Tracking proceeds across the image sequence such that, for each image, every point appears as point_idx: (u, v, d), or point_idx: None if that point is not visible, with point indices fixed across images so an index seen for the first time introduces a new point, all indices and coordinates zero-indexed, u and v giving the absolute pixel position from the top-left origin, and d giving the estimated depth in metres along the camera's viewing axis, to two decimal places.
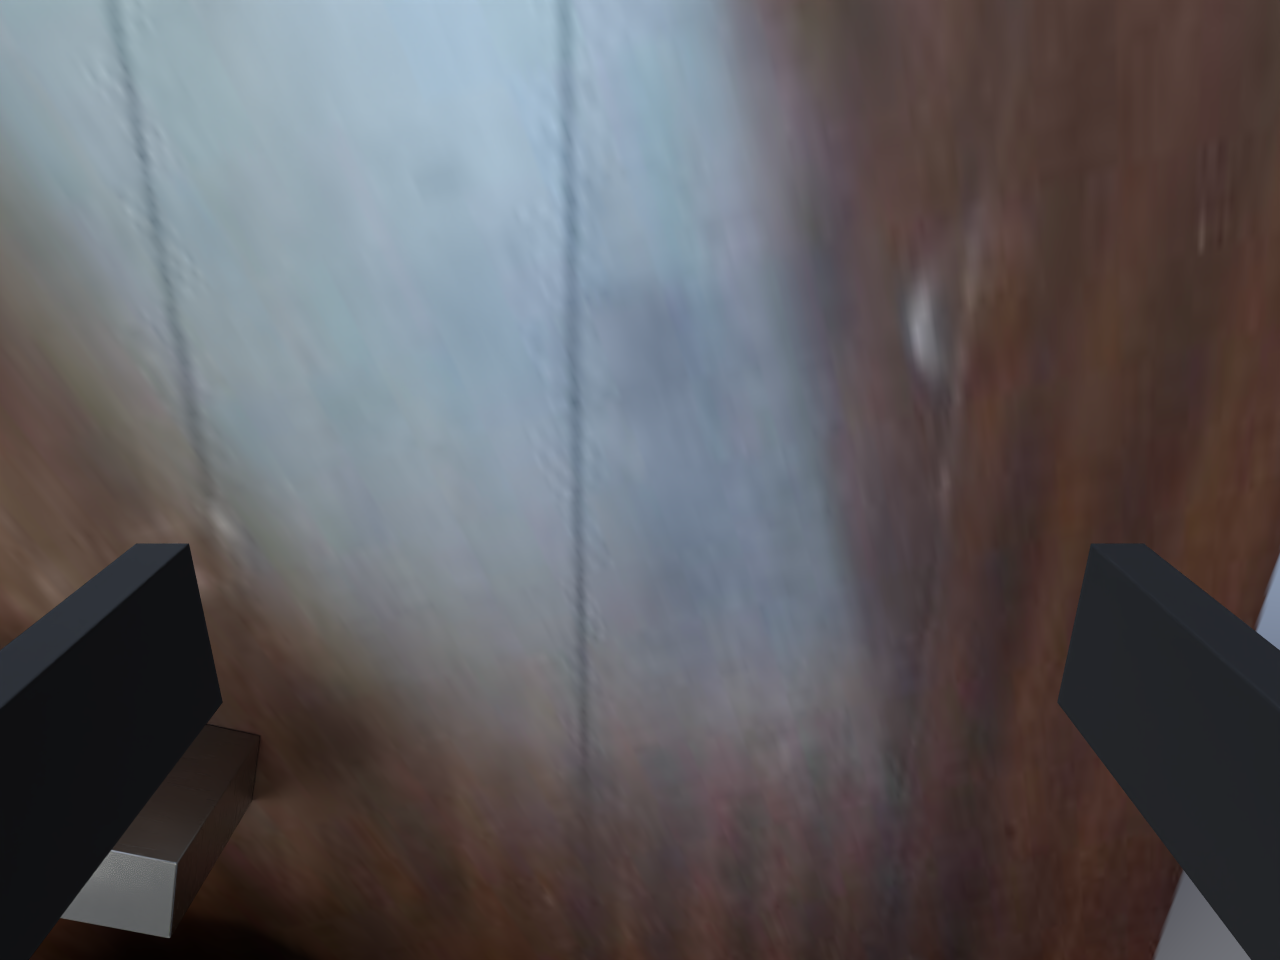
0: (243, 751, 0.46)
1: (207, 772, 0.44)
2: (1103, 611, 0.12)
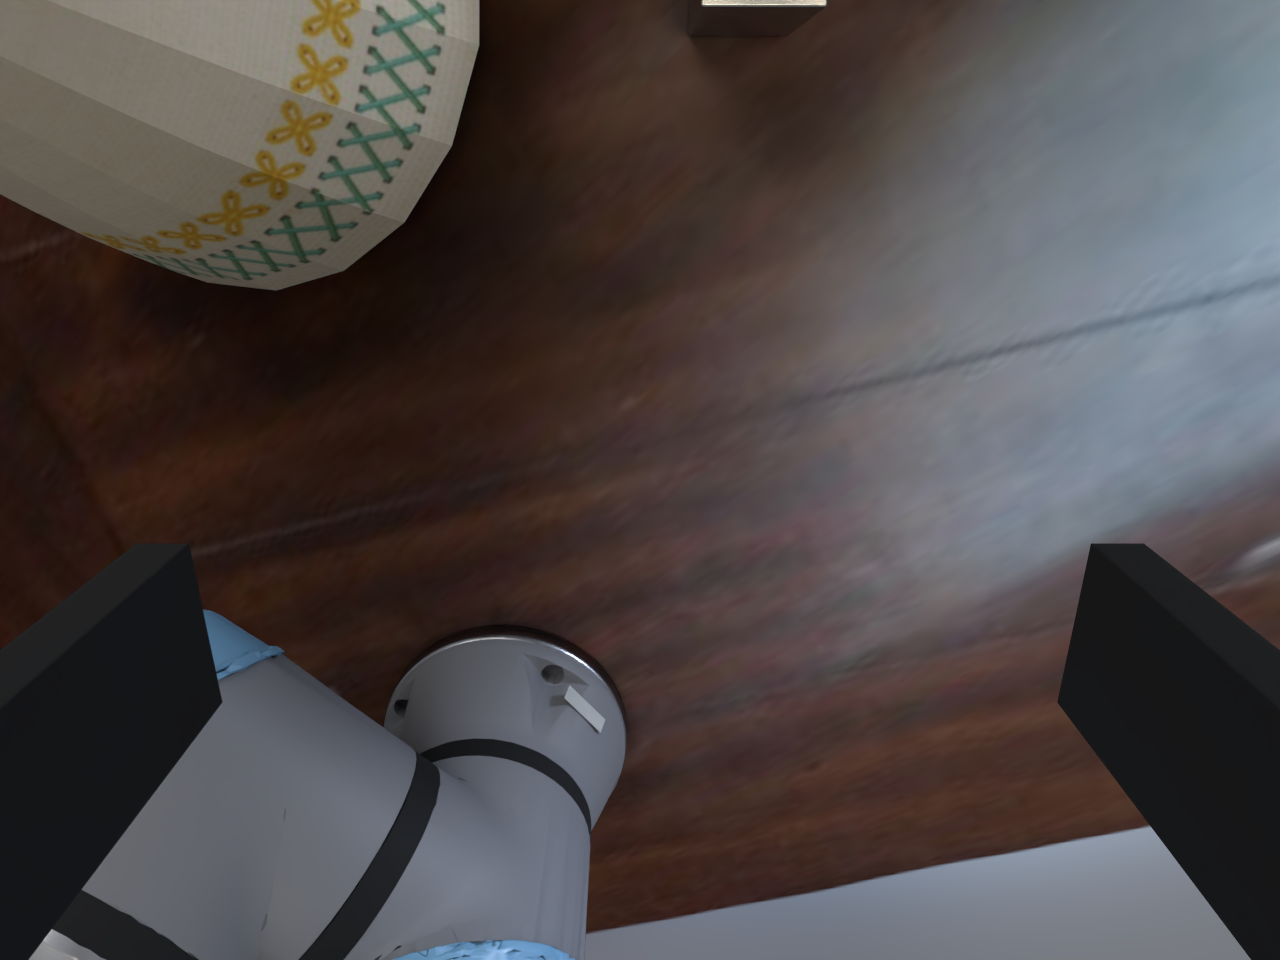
0: None
1: None
2: (1103, 611, 0.12)
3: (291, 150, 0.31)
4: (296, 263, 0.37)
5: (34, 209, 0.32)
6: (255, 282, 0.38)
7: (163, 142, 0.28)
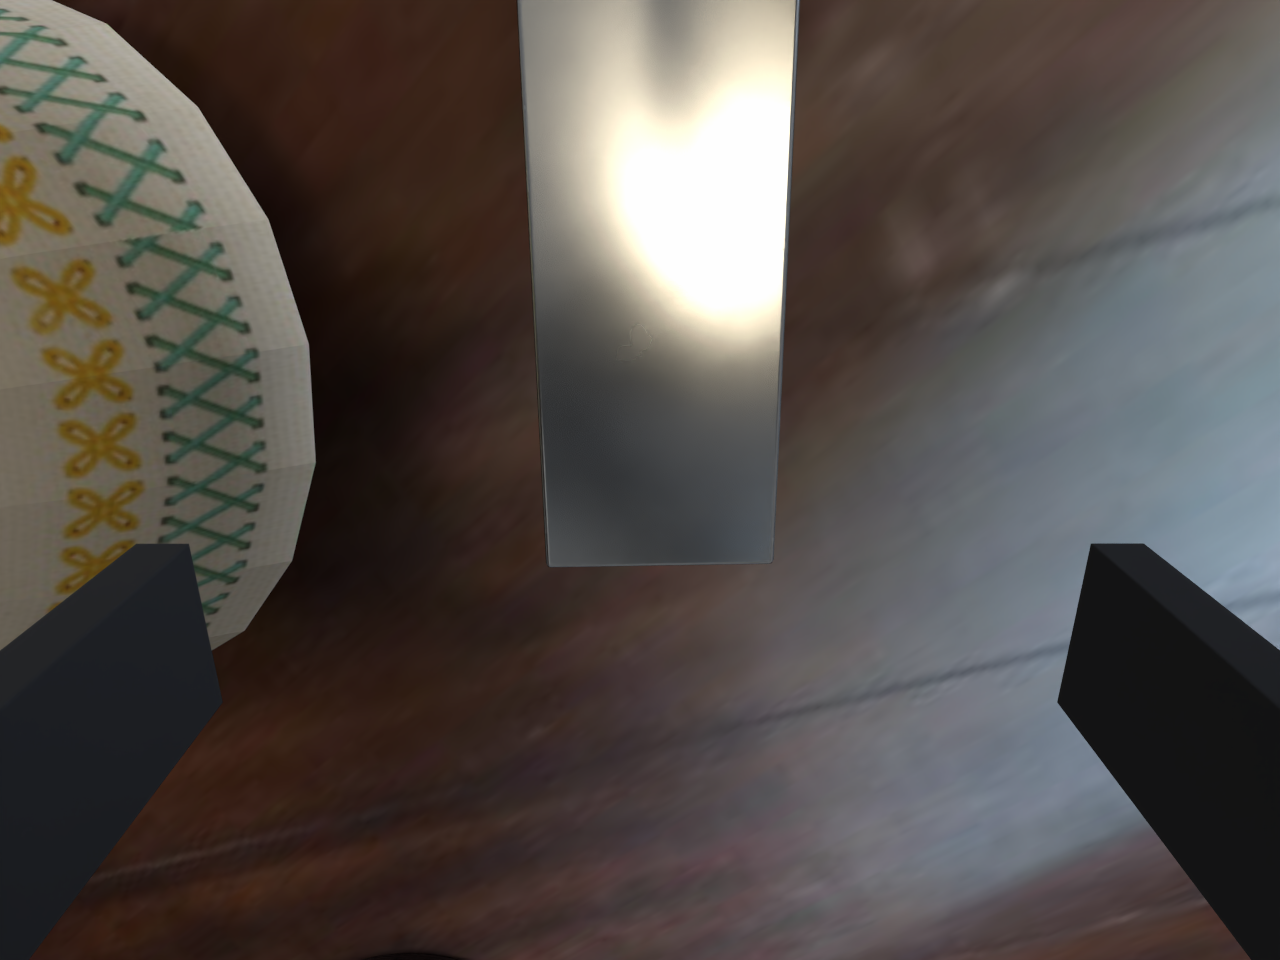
0: None
1: None
2: (1103, 611, 0.12)
3: None
4: None
5: None
6: None
7: None
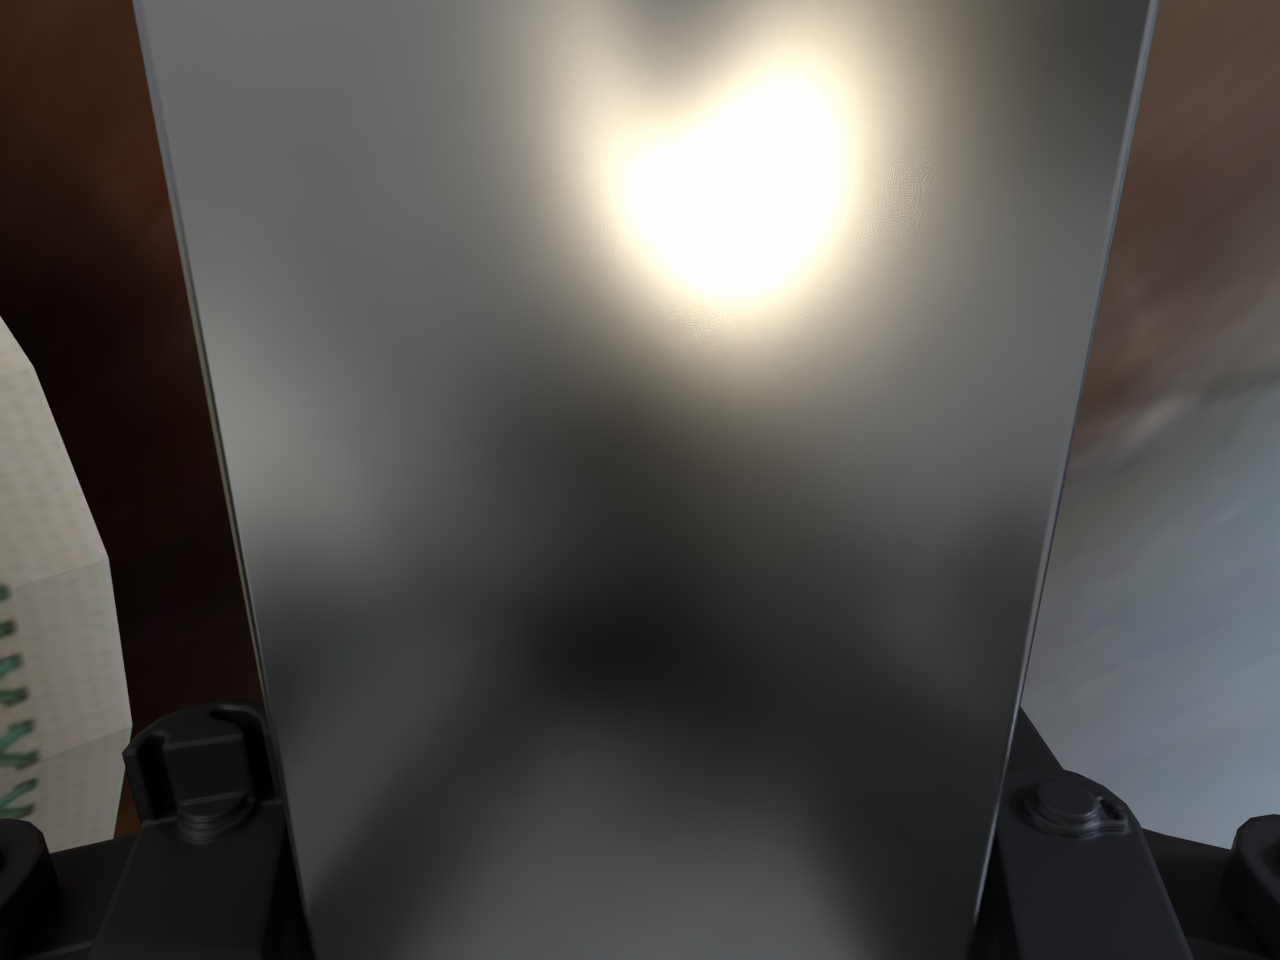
0: None
1: None
2: None
3: None
4: None
5: None
6: None
7: None
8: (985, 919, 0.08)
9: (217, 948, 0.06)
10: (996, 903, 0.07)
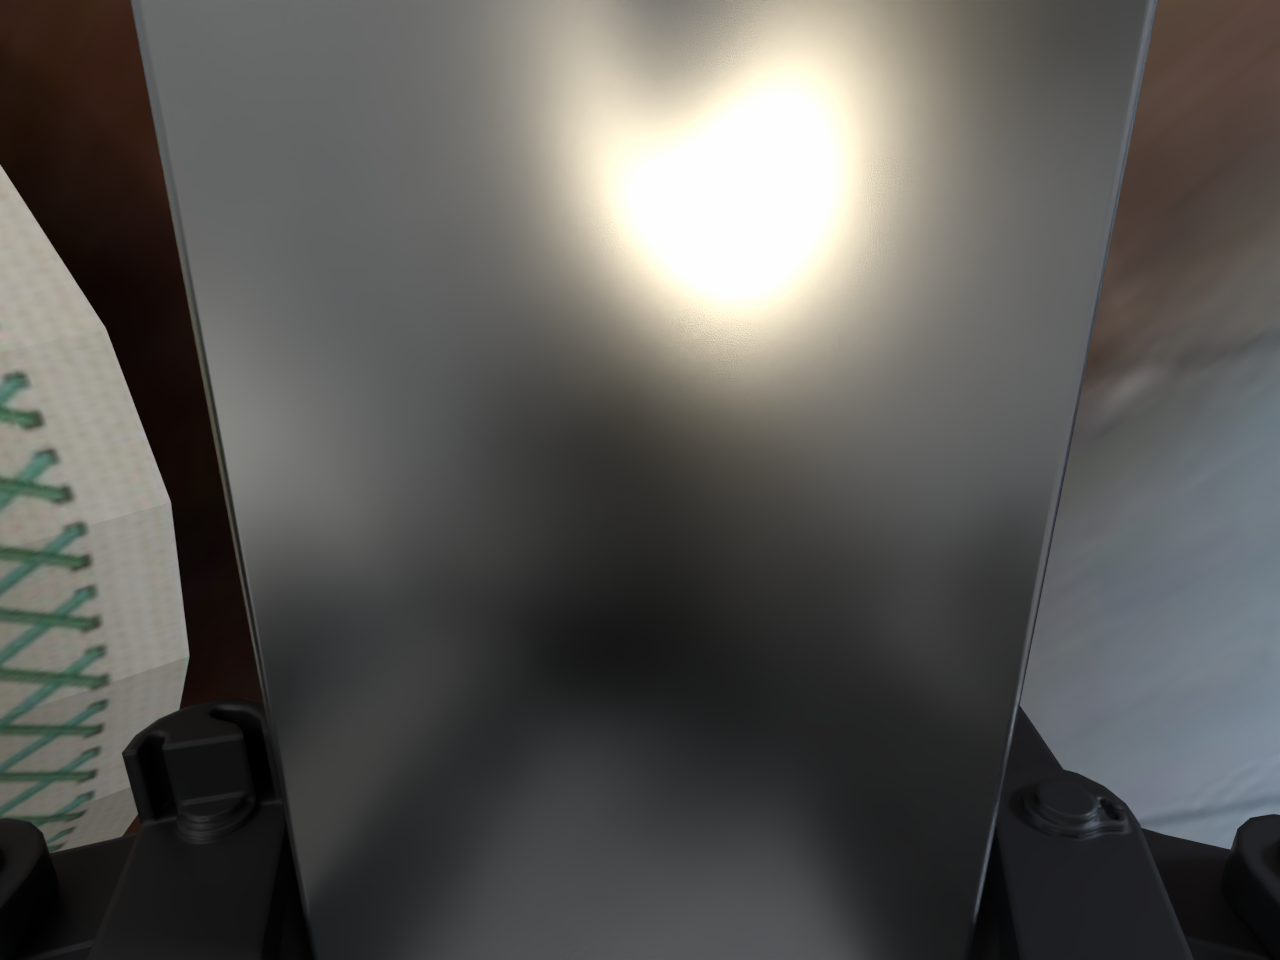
0: None
1: None
2: None
3: None
4: None
5: None
6: None
7: None
8: (985, 919, 0.08)
9: (217, 948, 0.06)
10: (996, 903, 0.07)
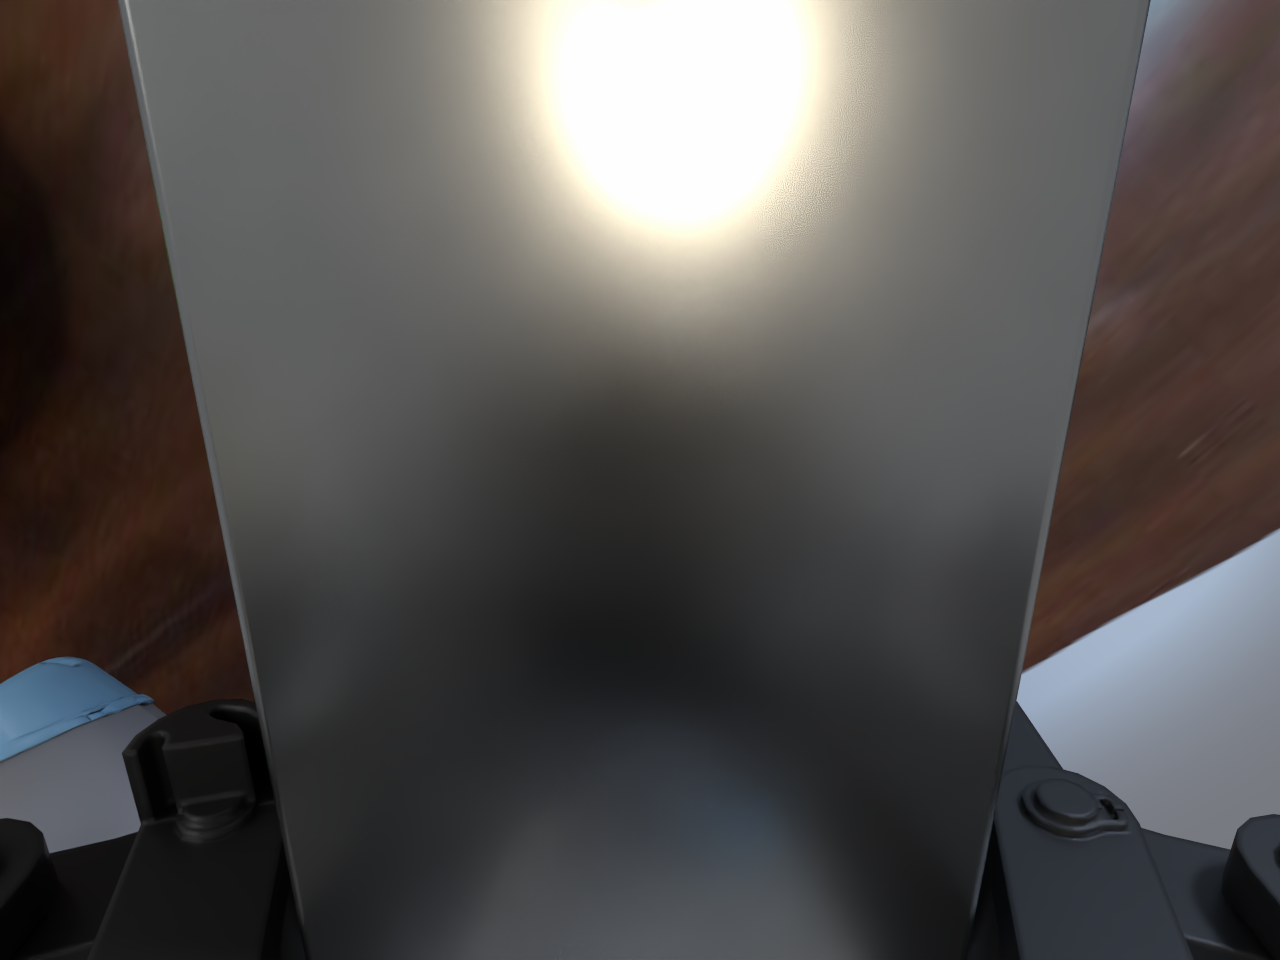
0: None
1: None
2: None
3: None
4: None
5: None
6: None
7: None
8: (985, 919, 0.08)
9: (217, 948, 0.06)
10: (996, 903, 0.07)
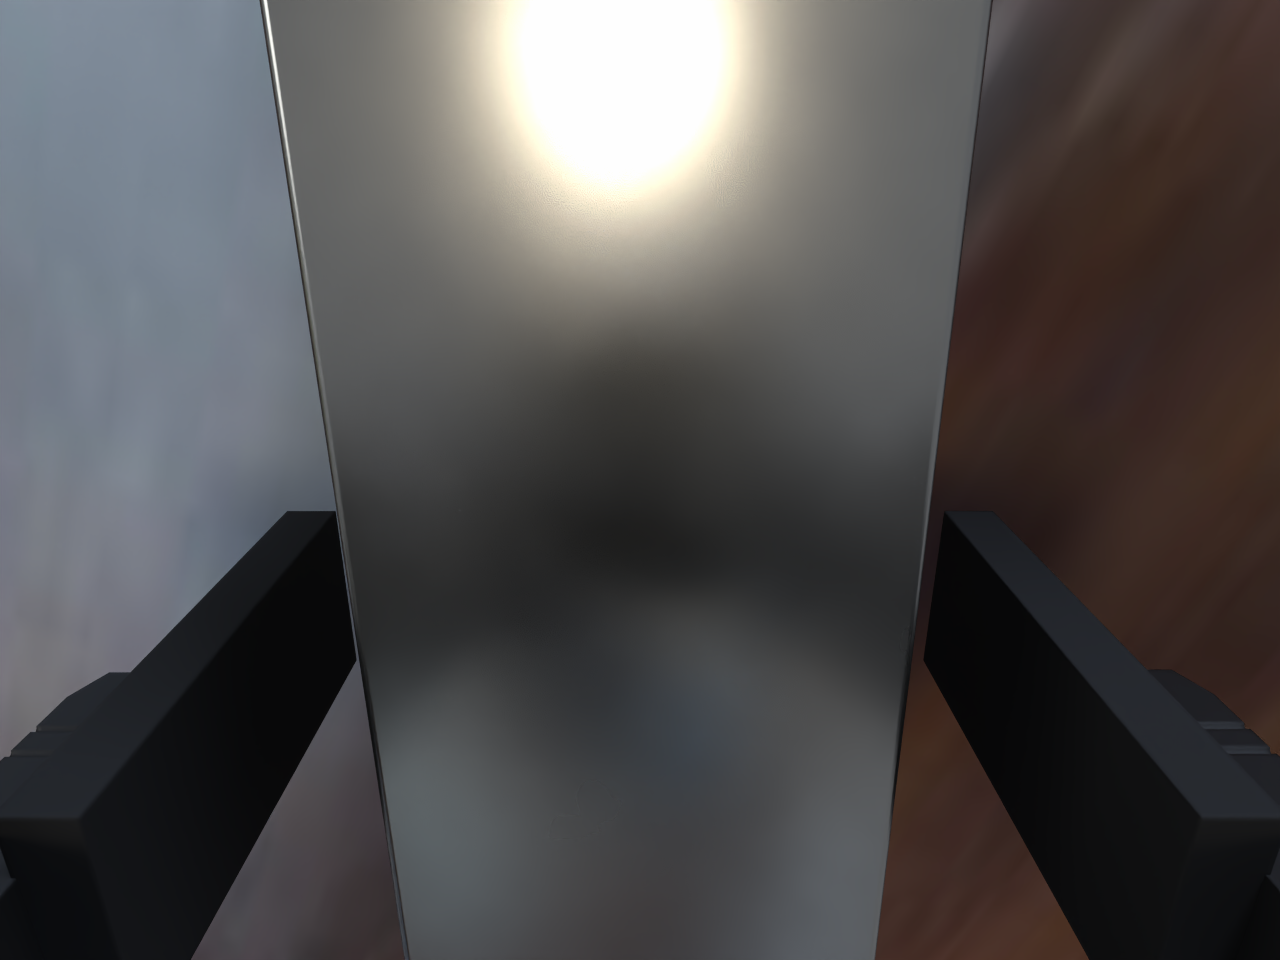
0: None
1: None
2: (951, 572, 0.13)
3: None
4: None
5: None
6: None
7: None
8: None
9: None
10: None
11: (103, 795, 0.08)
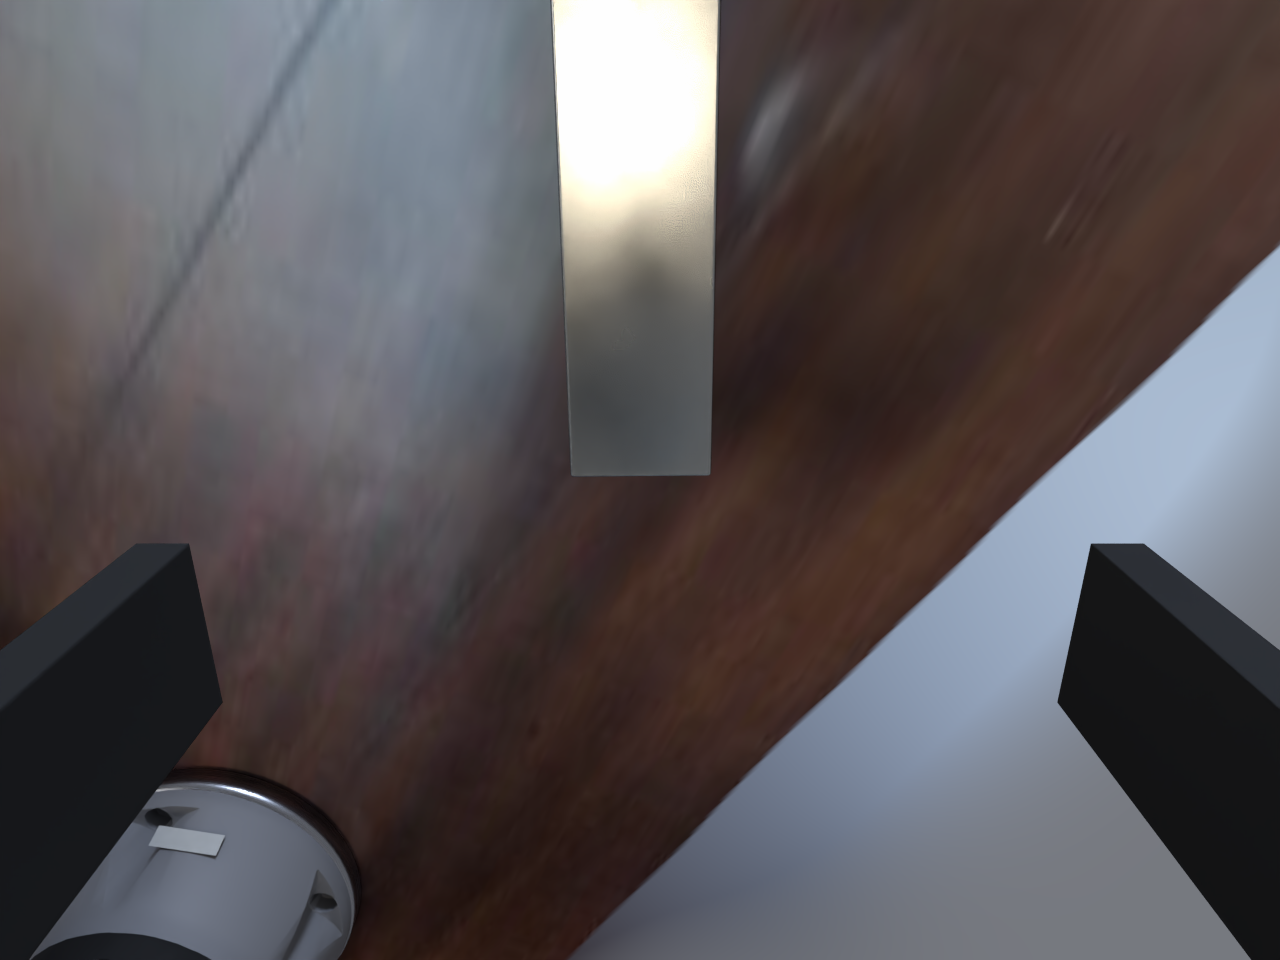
0: None
1: None
2: (1103, 611, 0.12)
3: None
4: None
5: None
6: None
7: None
8: None
9: None
10: None
11: None
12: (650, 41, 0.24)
